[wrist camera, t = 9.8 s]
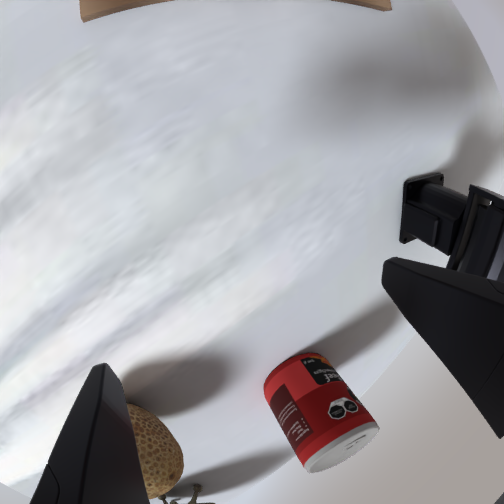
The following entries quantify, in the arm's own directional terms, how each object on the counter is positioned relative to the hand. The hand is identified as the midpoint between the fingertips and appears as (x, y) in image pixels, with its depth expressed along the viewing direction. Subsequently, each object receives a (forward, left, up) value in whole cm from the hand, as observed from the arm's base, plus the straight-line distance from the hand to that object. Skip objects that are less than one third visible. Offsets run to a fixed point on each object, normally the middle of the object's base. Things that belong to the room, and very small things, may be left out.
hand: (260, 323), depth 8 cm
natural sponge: (+12, +18, -12) cm, 25 cm away
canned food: (-6, +22, -12) cm, 26 cm away
